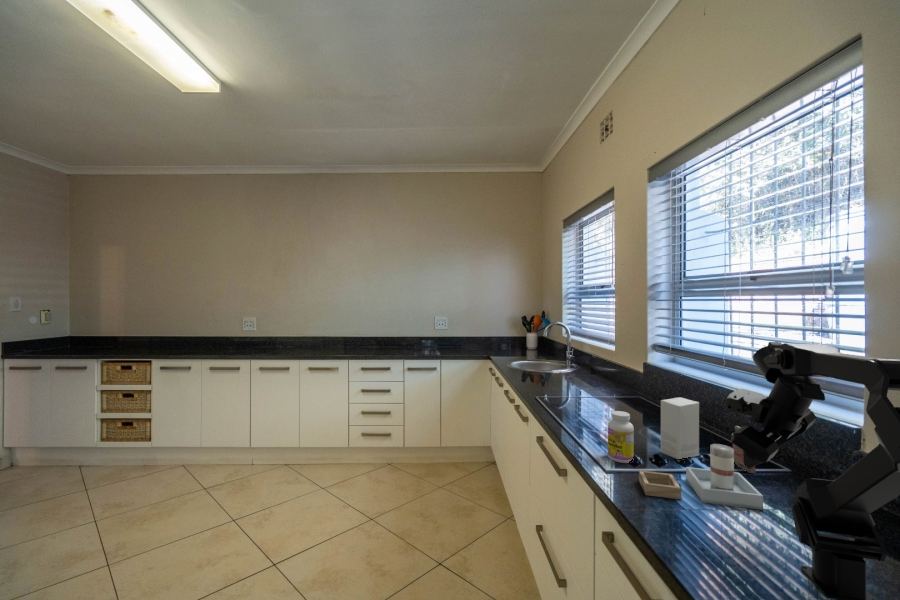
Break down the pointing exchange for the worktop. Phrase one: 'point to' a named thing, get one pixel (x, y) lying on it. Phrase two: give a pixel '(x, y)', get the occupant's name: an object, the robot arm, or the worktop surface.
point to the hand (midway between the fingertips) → (759, 456)
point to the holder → (659, 484)
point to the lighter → (741, 457)
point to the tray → (739, 497)
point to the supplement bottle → (620, 437)
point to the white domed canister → (721, 467)
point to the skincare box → (680, 428)
